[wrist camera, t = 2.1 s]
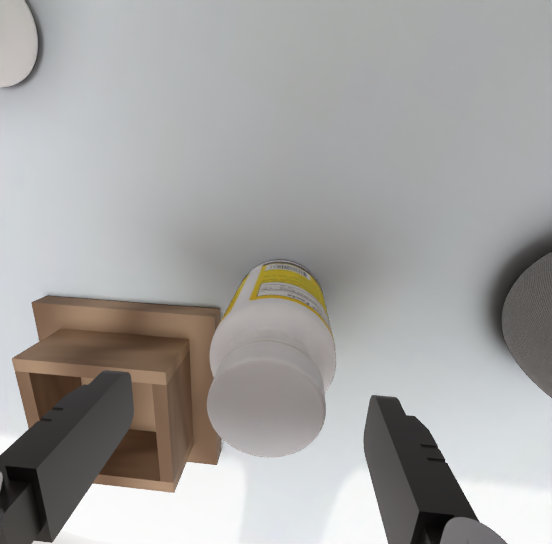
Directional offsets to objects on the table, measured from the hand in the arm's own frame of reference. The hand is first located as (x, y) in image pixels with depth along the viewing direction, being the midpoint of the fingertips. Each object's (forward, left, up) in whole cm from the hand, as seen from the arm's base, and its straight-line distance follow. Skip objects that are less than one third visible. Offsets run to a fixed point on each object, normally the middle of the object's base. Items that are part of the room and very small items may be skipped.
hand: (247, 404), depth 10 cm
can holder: (+9, +7, -10) cm, 15 cm away
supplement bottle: (-1, 0, -10) cm, 10 cm away
